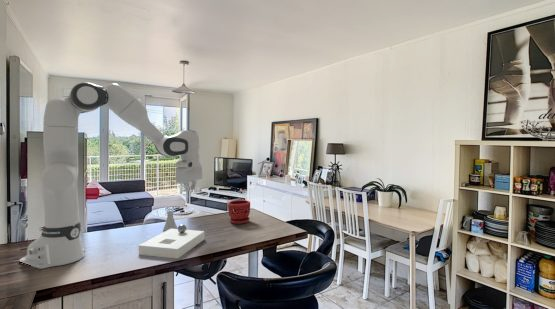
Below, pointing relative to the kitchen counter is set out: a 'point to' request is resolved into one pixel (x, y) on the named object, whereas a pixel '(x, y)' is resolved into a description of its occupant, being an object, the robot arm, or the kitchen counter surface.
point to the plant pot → (239, 211)
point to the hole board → (171, 243)
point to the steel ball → (181, 228)
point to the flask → (170, 222)
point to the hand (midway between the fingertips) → (190, 190)
